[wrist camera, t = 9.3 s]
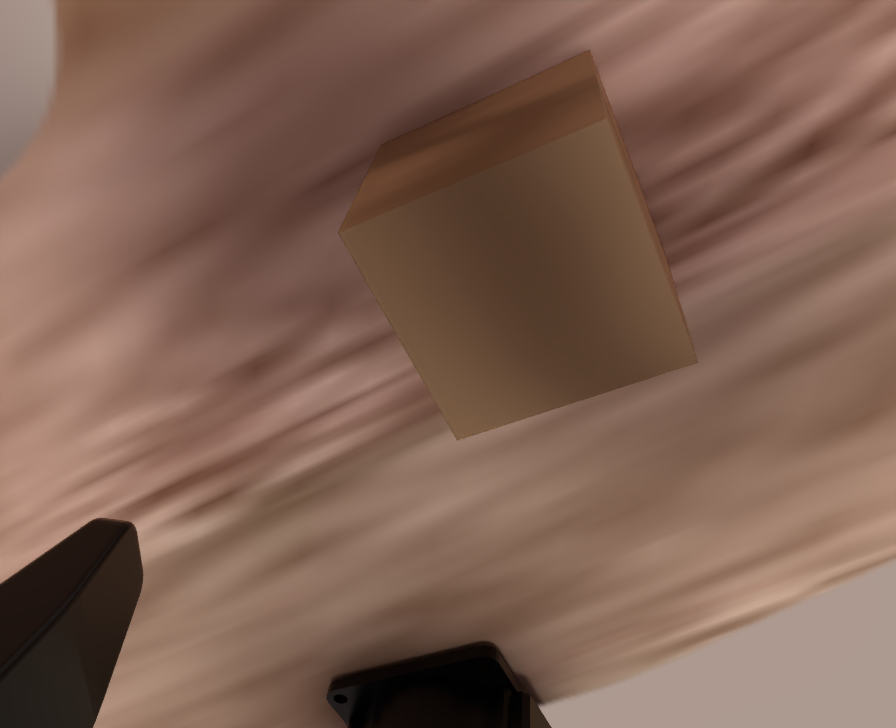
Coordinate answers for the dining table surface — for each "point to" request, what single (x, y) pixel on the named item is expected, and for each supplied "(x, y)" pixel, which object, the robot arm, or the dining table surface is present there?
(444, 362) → the walnut cube
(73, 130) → the dining table surface
